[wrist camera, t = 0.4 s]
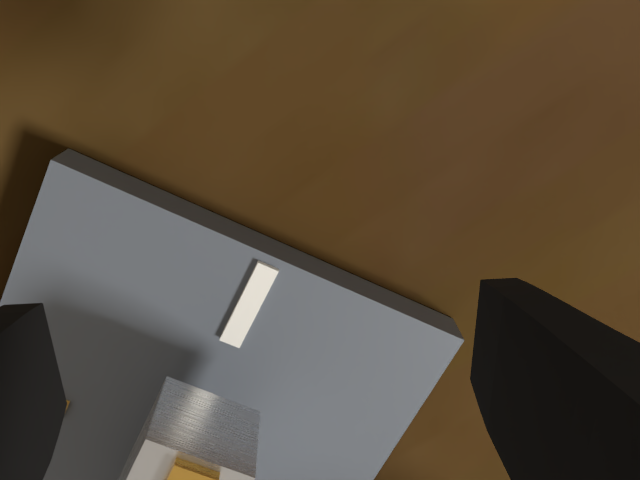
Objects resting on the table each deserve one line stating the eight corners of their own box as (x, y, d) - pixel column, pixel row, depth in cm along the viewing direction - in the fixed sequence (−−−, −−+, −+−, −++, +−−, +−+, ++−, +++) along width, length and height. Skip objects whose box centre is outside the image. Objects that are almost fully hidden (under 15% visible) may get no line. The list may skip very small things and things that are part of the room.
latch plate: (264, 614, 26) (263, 653, 25) (-64, 514, 24) (-90, 550, 22) (453, 318, 22) (466, 342, 20) (68, 148, 19) (48, 161, 17)
